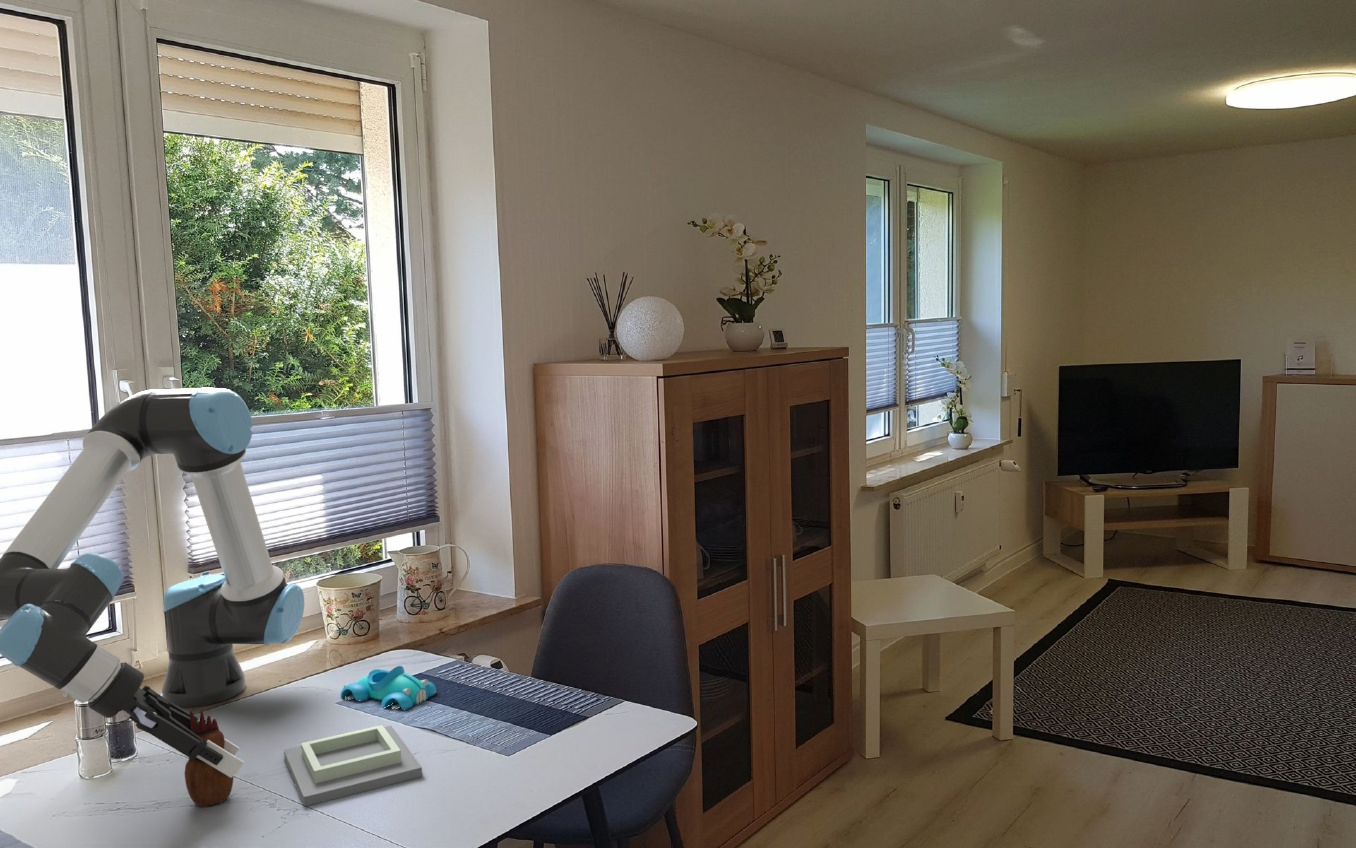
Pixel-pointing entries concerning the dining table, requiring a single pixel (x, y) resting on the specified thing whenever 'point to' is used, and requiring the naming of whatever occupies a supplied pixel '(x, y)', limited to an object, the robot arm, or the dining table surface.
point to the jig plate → (350, 764)
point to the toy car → (390, 688)
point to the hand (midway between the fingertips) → (235, 762)
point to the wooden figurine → (207, 768)
